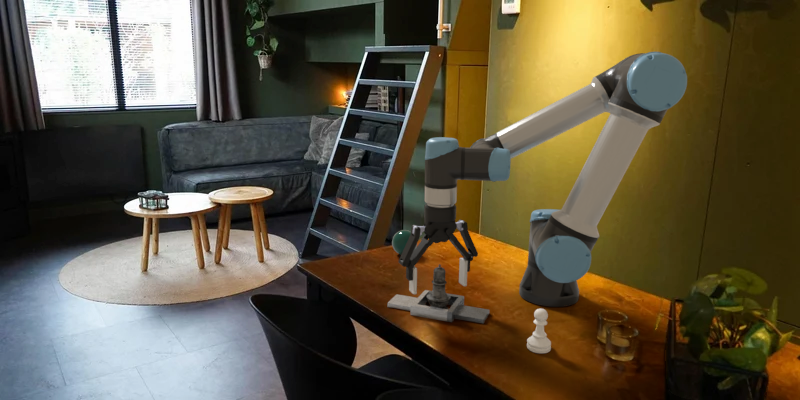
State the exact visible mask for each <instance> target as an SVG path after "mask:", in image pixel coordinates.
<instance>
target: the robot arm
mask: <svg viewBox="0 0 800 400" xmlns="http://www.w3.org/2000/svg"><path fill="white" fill-rule="evenodd" d="M686 72H687V71H686V69H685V67H684V65H683V63H682V62H681V61H680V60H679V59H678V58H677V57H675V56H673V55H672V54H668V53H664V52H661V51H649V52H646V53H645V52H644V53H636V54H635V53H634V54H632V55H629V56H627V57H625V58H624V59H622V60H621V61H619V62H617V63H616V64H614V65H613V66H611V67H610V68H608V69H606V70H604V71H603V72H601V73H599V74H598V75H595V76H594V77H592V79H591V82H590V83H589V84H588V85H586V86H584V87H581V88H580V89H578V90H576V91H574V92H572V93H570V94H568V95H566V96H564V97H562V98H561V99H558V100H556V101H554V102H553V103H550V104H548V105H547V106H545V107H543V108H540V109H539V110H538V111H535V112H534V113H531V114H530V115H528V116H526V117H523V118H522V119H520V120H518V121H516V122H514V123H512V124H510V125H509V126H505V128H502V129H501V130H498V131H497V132H496V133H493V134H491V135H489V136H487V137H485V138H480V139H478V140H476V141H475V142H473V143H472V145H471V146H470V147H465V146H464V147H462V146H460V144H459V141H458V139H457V138H454V137H448V136H447V137H444V136H443V137H442V136H439V137H431V138H429V139H428V140H427V141H426V142H425V154H424V155H425V156H424V202H425V204H424V209H423V218H424V219H423V220H424V224H423V225H416V224H413V225H412V226H411V229H410V232H411V235H410V237H409V239H408V241H407V243H406V246H405V248H404V250H403V252H402V254H401V255H400V257H399V258H398V262H397V263H398V264H399V265H401V266H402V267H403V268H404V267H405V278H406V280H408V290H409V292H410V293H411V294H412V295H417V294H418V293H417V291H418V290H417V289H418V287H417V286H418V268H417V267H416V265H417V263H418V262H419V261H420V259H421V258H422V257H423V256H424V254H425V252H427V250H428V248H430V247H431V246H432V245H433V244H439V243H446V242H447V243H448V241H449V242H450V243H451V244H452V246H453V247H454V248H455V249H456V251H457V252H459V254H460V255H461V256H462V257H459V264H458V265H459V267H458V268H459V269H458V283H459V284H460V285H461V286H463V287H467V286H468V273H469V272H470V271H471V262H472V261H474V257H478V256H479V252H478V250H477V247H476V246H475V243H474V241H473V240H472V239H473V238H472V237H471V234H470V232H469V230H468V229H469V228H468V222H467V221H465V220H462V219H459V220H458V221H457V222H456V219H457V205H456V203H457V196H458V194H457V193H458V180H459V181H460V180H461V181H463V180H465V181H485V182H493V183H494V182H495V183H496V182H506V181H507V180H509V178H510V175H511V159H513V158H516V157H517V156H519V155H521V154H524V153H525V152H527V151H529V150H532V149H533V148H535V147H537V146H539V145H541V144H544V143H545V142H548V141H549V140H552V139H553V138H555V137H557V136H560V135H561V134H563V133H565V132H567V131H570V130H571V129H574V128H575V127H578V126H579V125H582V124H583V123H586V122H588V121H589V120H591V119H593V118H595V117H597V116H600V115H601V114H604V113H609V116H608V118H607V120H606V122H605V123H604V126H603V127H602V129H601V131H600V133H599V135H598V137H597V139H596V142H595V143H594V146H593V147H592V149H591V151H590V153H589V154H588V157H587V159H586V161H585V163H584V165H583V167H582V169H581V171H580V172H579V175H578V176H577V179H576V180H575V183H574V184H573V185H572V189H571V190H570V192H569V194H568V196H567V198H566V200H565V202H564V204H563V205H562V207H561V209H553V208H545V209H544V208H541V209H539V208H538V209H535V210H533V211H532V212H531V214H530V219H529V223H530V224H529V225H530V226H529V241H528V255H527V267H526V268H525V271H524V273H523V276H522V278H521V281H520V283H519V288H518V289H519V291H518V293H519V296H520V297H521V298H522V299H524V300H525V301H527V302H529V303H531V304H534V305H539V306H544V307H550V308H552V307H553V308H557V307H558V308H559V307H567V306H568V307H570V306H572V305H574V304H577V302H578V301H579V298H580V289H579V285H578V280H580V279H581V278H583V277H584V276H585V275H586V274H587V273H588V271H589V270H590V267H591V265H592V251H593V249H594V246H595V245H596V243H597V241H598V239H599V238H600V233H599V230H598V224H599V223H600V220H601V219H602V217H603V215H604V213H605V211H606V209H607V208H608V206H609V204H610V203H611V201H612V199H613V197H614V194H615V193H616V191H617V190H618V187H619V185H620V183H621V181H622V180H623V178H624V175H625V174H626V172H627V170H628V169H629V167H630V165H631V163H632V161H633V159H634V158H635V155H636V154H637V151H638V149H639V148H640V146H641V144H642V142H643V141H644V139H645V137H646V134H648V132H649V130H650V129H652V128H654V127H657V126H660V124H661V123H662V121H663V119H664V117H665V116H666V113H667V111H668V110H669V109H671V108H673V107H674V106H675V105H677V104H678V103H679V102H680V100H681V99H682V98H683V96H684V95H685V92H686V91H687V86H688V75H687V73H686ZM456 229H457V230H458V231H459V233H460V234H459V235H460V236H461V239H462V241H463V242H464V245H465V247H466V248H465V247H464V246H463V244H462V243H461V242H460V240H458V238H457V236H455V234H454V233H455V231H456ZM423 232H424V234H423ZM422 234H423V236H422ZM420 236H422V238H421V239H420ZM419 240H420V242H419ZM418 242H419V243H418ZM416 244H417V247H416ZM415 247H416V249H415ZM414 249H415V250H414Z"/></svg>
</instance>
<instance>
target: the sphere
mask: <svg viewBox="0 0 800 400" xmlns="http://www.w3.org/2000/svg"><path fill="white" fill-rule="evenodd" d="M410 235H411V230H407V229H401V230H398V231H397V232H396V233H395V234H394V235H393V236H392V241H391V246H392V248H393V251H395V252H396V253H397V254H399V255H400V256H401V254H402V252H403V250H404V248H405V246H406V243H407V241H408V239H409V237H410ZM417 246H418V243H417V244H416V247H417ZM416 247H415V249H416ZM415 249H414V250H415Z"/></svg>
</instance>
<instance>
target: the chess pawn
mask: <svg viewBox="0 0 800 400" xmlns="http://www.w3.org/2000/svg"><path fill="white" fill-rule="evenodd" d="M548 313H549V312H548V311H547V310H546V309H544V308H542V307H541V308H537V309H535V310H534V312H533V316H534V320H533V321H532V322H533V324H535V325H536V327H535V330H534V331H532V335H530V336H529V337H528V338H527V339H526V342H527V343H526V348H527V349H528V350H529V351H530V352H532V353H535V354H547V353H549V352H551V350H552V347H551V346H552V341H551V340H550V339H549V338H548V337H547V336H548V334H547V333H546V332H545V326H547V325H548V321H547V319H548V317H549V314H548Z"/></svg>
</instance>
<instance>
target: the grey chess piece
mask: <svg viewBox="0 0 800 400" xmlns="http://www.w3.org/2000/svg"><path fill="white" fill-rule="evenodd" d="M447 283H448V282H447V281H446V269H445V268H444V267H442V264H441V263H439V264H438V267H435V268H434V269H433V280H431V284H432V290H431V291H432V292H431V293H429V294H428V295H427V298H428V302H427V303H428V304H429V306H431V307H437V308H442V309H448V310H449V309H450V308H449V307H447V306H449V305H448V303H449V300H450V298H451V296H450V295H449V294H450V293H447V292H446V284H447Z"/></svg>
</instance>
